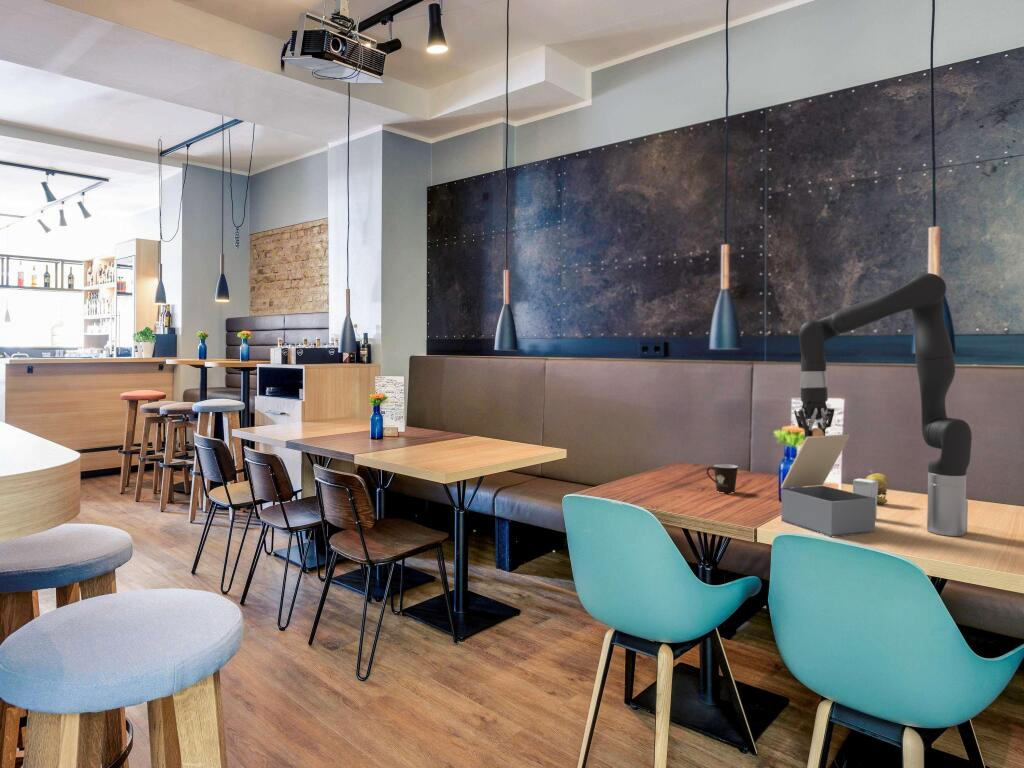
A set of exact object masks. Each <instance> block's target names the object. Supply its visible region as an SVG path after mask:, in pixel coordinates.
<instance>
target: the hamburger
mask: <svg viewBox="0 0 1024 768" xmlns="http://www.w3.org/2000/svg"><path fill="white" fill-rule="evenodd" d="M869 472H870V473H871V474H869V475H867V476H866V477H865V478H864V479H867V480H873V481H878V493H877V503H878V504H877V505H886V504H887V503H888V499H886V496H887V492H888V489H887V488H886V487H887V485H889V483H890V480H889V478H888V477H887V475H885V474H883V473H879V472H878V473H874V472H873V470H868V473H869Z"/></svg>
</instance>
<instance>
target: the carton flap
mask: <svg viewBox="0 0 1024 768" xmlns="http://www.w3.org/2000/svg"><path fill="white" fill-rule="evenodd" d="M811 431H813V436H810V437H806V438H805V437H804V441H803V443H802V445H801V446H800V448H799V451H798V453H796V456H795V459H793V462H792V463H791V466H790V468H789V470H788V472H787V473H786V476H785V477H784V480H783V481H782V483H781V486H780V488H781V489H789V488H800V487H812V486H824V484H825V483H826V480H827V478H828V477H829V474H830V473H831V471H832V470H833V468H834V466H835V464H836V462H837V460H838V458H839V456H840V454H841V453H842V451H843V449H844V448H845V445H846V444H847V442H848V441H849V439H850V436H851V435H850V434H849V433H848V434H832V435H825V436H823V435H824V434H823V431H822V430H821V429H820V428H817V427H812V430H811Z"/></svg>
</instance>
